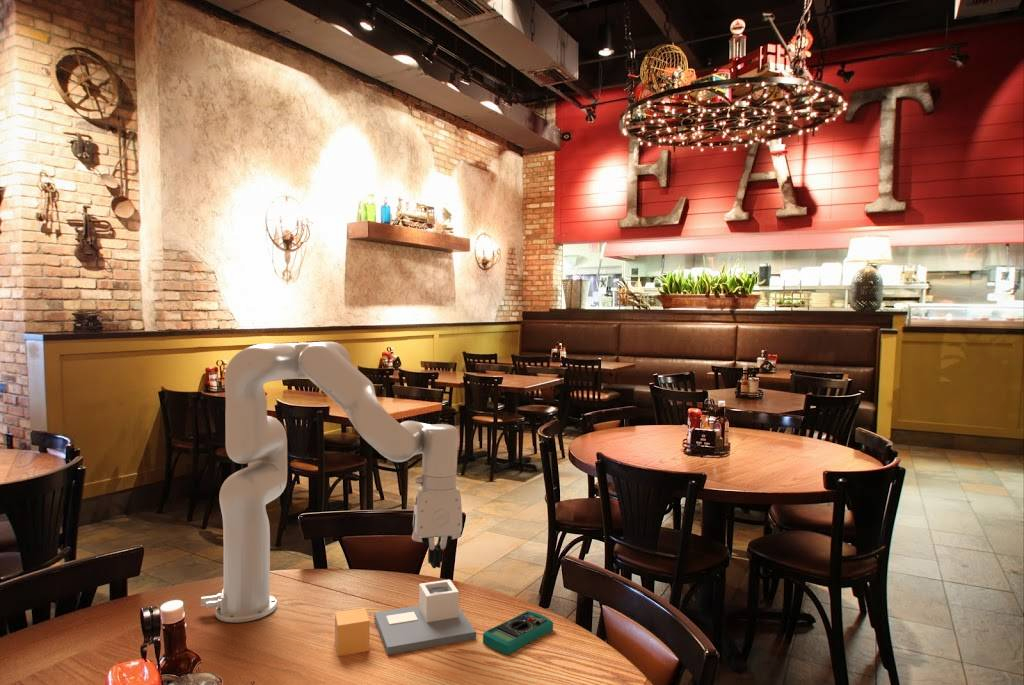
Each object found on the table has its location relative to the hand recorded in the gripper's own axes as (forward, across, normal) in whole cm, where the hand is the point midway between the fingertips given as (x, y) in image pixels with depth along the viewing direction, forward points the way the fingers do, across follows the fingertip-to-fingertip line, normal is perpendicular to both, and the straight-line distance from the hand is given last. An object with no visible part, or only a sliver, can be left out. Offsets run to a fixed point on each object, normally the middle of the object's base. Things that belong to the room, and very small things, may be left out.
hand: (435, 565), depth 134 cm
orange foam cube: (+12, -18, -6) cm, 22 cm away
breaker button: (+10, +1, -1) cm, 10 cm away
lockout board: (+12, -3, -4) cm, 13 cm away
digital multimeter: (+12, +15, -13) cm, 23 cm away
